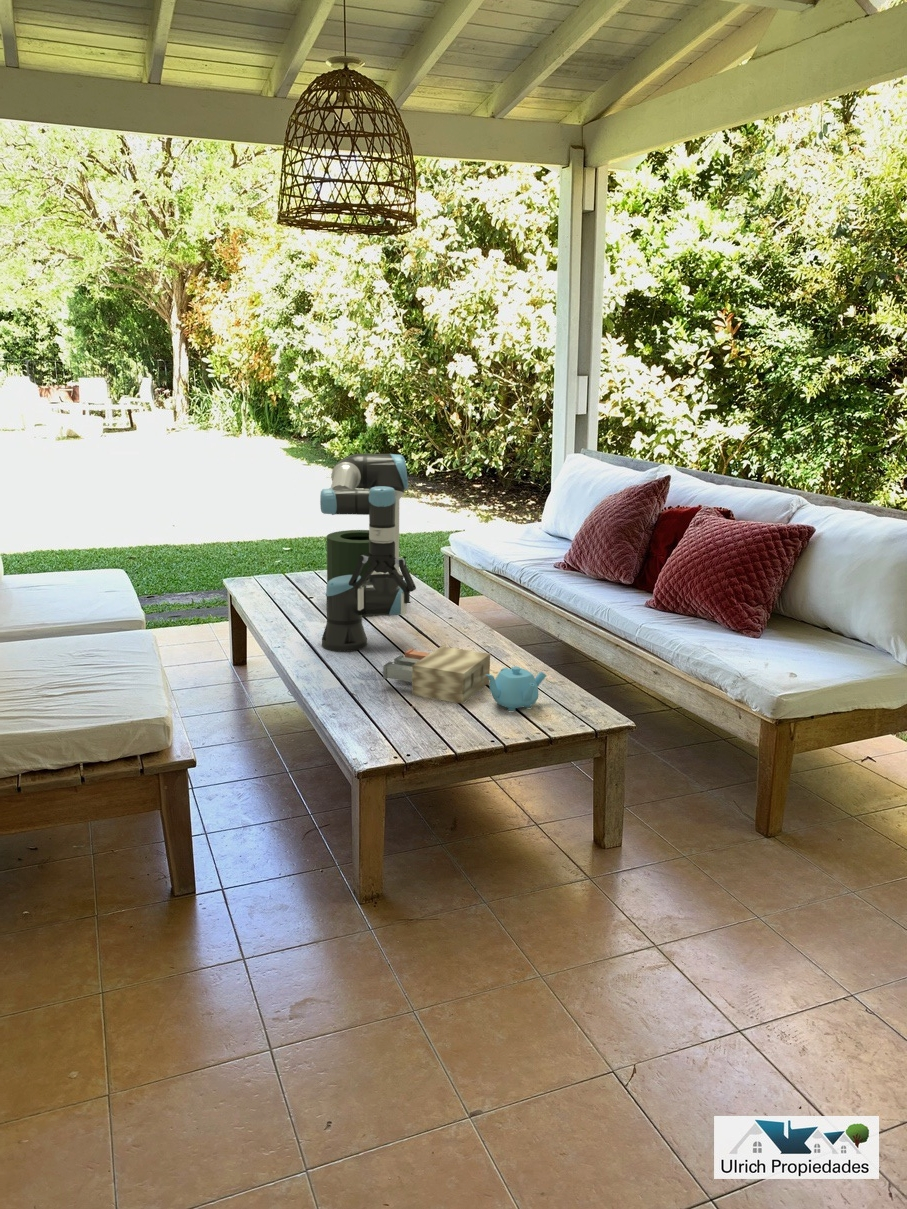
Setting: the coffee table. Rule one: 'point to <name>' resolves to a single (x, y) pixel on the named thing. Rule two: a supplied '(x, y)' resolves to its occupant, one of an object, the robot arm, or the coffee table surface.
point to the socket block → (450, 674)
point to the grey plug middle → (405, 661)
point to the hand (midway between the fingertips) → (382, 611)
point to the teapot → (515, 687)
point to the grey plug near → (397, 672)
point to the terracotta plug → (415, 654)
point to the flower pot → (347, 553)
